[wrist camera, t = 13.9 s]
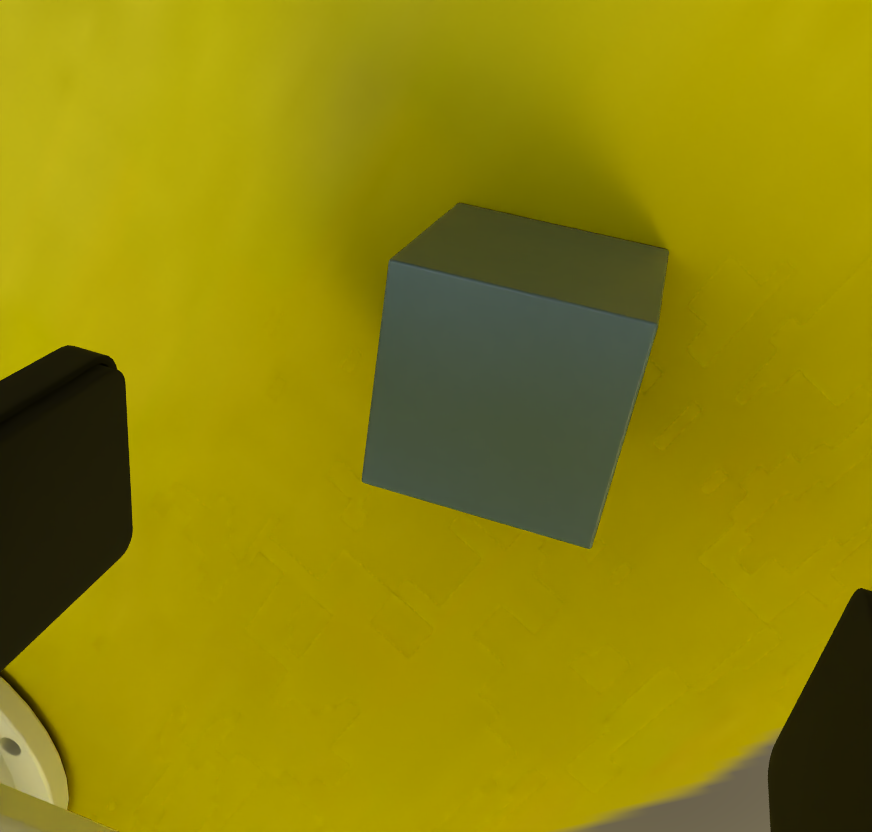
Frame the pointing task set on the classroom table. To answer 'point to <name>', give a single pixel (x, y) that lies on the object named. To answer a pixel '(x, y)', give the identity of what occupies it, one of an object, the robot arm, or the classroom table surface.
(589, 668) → the classroom table surface
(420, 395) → the block
